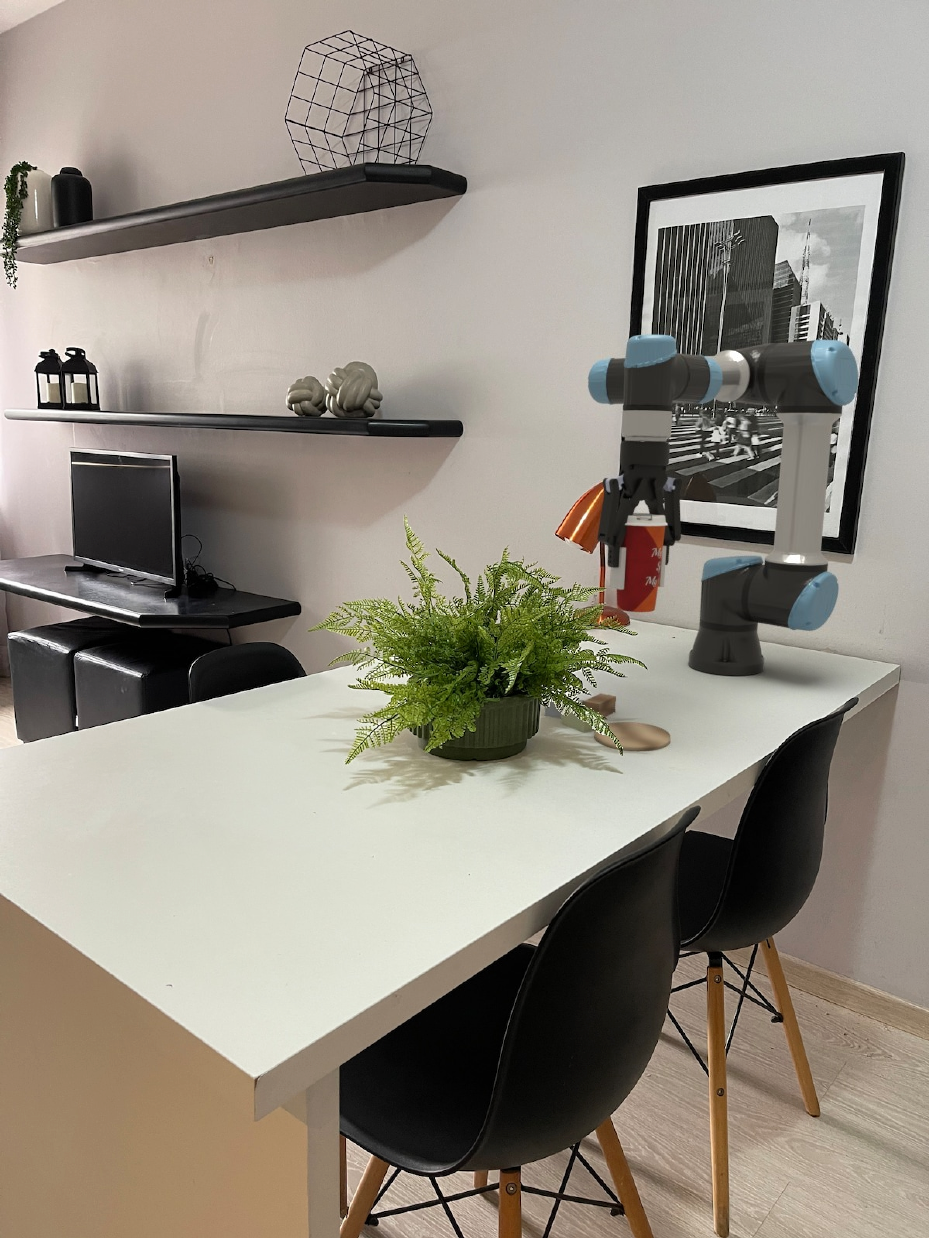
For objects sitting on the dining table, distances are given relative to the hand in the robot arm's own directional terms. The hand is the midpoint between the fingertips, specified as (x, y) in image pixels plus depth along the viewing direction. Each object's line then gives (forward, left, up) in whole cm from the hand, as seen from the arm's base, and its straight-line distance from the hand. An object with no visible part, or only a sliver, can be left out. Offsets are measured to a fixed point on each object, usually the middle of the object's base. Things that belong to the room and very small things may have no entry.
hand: (637, 586), depth 150 cm
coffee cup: (0, 0, -4) cm, 4 cm away
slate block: (+5, -12, -24) cm, 28 cm away
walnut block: (-1, -10, -24) cm, 26 cm away
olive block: (+6, -6, -24) cm, 26 cm away
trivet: (+2, +3, -24) cm, 24 cm away
